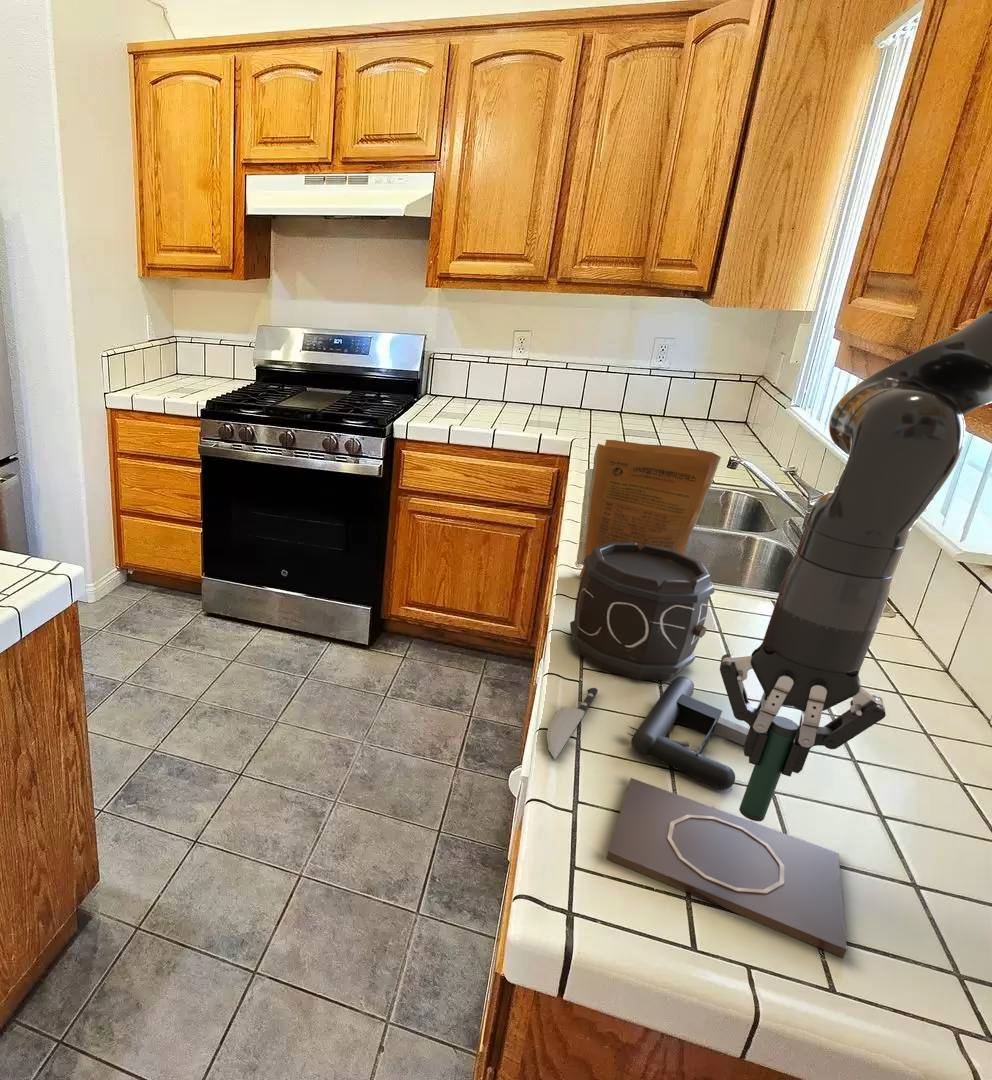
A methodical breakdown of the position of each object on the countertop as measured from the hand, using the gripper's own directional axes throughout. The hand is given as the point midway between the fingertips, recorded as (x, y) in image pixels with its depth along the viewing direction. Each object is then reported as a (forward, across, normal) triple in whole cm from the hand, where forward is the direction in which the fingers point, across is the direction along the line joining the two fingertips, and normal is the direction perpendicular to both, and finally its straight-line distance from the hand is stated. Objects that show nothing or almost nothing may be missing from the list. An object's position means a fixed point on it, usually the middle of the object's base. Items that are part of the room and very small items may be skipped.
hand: (769, 765), depth 74 cm
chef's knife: (+12, -20, +14) cm, 27 cm away
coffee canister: (+12, -16, +39) cm, 44 cm away
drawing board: (+12, -1, -2) cm, 12 cm away
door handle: (+12, -4, +20) cm, 24 cm away
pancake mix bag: (+12, -21, +65) cm, 69 cm away
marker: (+6, 0, 0) cm, 6 cm away
